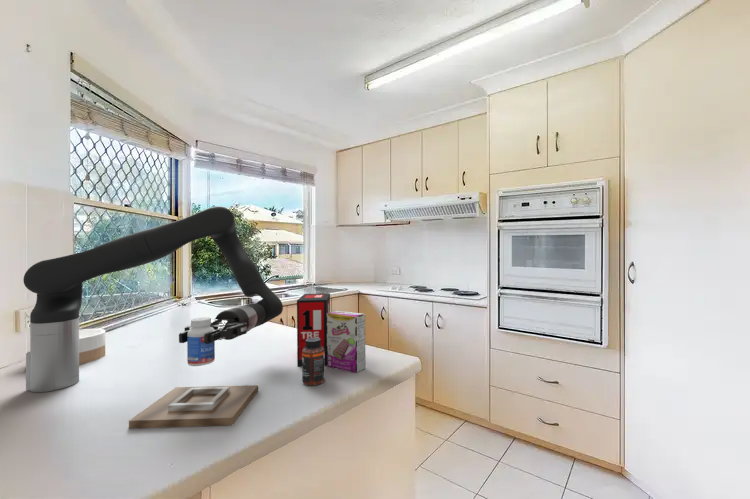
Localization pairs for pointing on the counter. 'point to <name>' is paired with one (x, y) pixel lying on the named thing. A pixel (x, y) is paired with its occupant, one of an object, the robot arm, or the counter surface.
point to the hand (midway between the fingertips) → (193, 338)
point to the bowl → (91, 345)
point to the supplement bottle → (313, 362)
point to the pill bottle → (200, 343)
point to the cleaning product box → (312, 321)
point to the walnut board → (196, 407)
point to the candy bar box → (346, 341)
